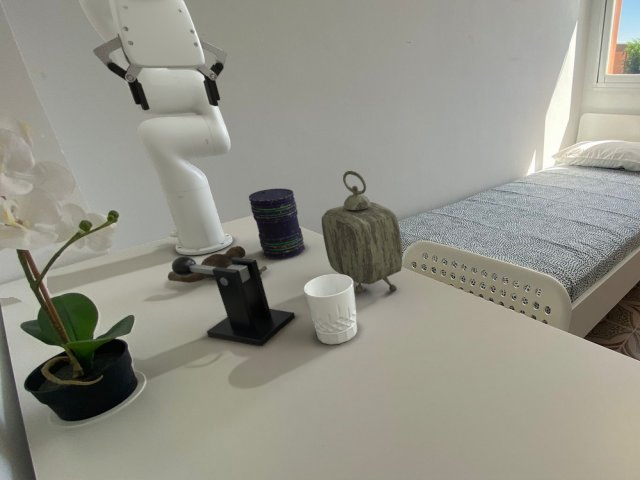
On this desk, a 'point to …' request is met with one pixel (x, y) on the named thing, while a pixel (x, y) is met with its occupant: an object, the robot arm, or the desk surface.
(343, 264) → the tabletop clock
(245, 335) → the bracket
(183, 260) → the tap lever
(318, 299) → the white cup
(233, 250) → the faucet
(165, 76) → the robot arm
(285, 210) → the dark blue cylinder
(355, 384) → the desk surface
